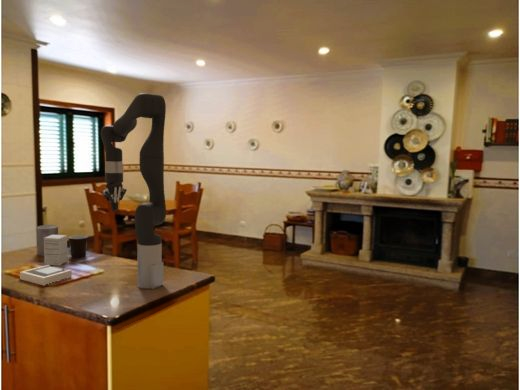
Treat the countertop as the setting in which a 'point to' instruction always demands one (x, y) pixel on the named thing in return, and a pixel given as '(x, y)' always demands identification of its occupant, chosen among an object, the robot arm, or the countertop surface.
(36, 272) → the white box with feet
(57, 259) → the supplement box
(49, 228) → the pillar candle
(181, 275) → the countertop surface
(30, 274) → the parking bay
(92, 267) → the countertop surface
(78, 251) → the coffee mug
